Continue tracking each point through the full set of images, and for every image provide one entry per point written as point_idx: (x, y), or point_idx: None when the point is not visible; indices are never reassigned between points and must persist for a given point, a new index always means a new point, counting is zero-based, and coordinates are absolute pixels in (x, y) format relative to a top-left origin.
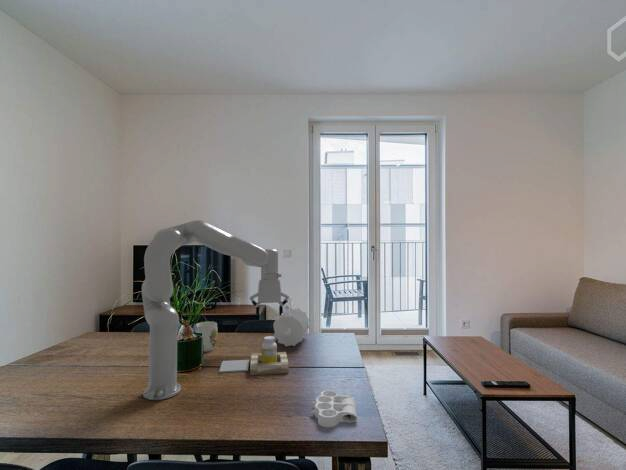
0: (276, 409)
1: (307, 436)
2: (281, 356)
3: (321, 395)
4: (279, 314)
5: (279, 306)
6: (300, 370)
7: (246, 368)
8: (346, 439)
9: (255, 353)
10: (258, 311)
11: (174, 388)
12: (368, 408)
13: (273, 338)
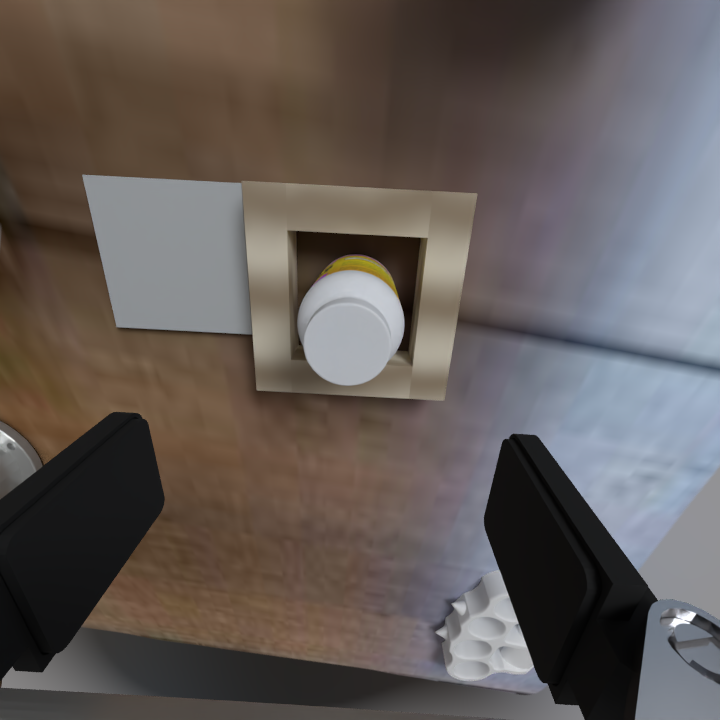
0: (356, 589)
1: (407, 668)
2: (429, 281)
3: (485, 613)
4: (493, 494)
5: (562, 644)
6: (496, 367)
7: (242, 318)
8: (477, 683)
9: (268, 189)
10: (101, 578)
11: (16, 483)
12: None
13: (378, 373)
